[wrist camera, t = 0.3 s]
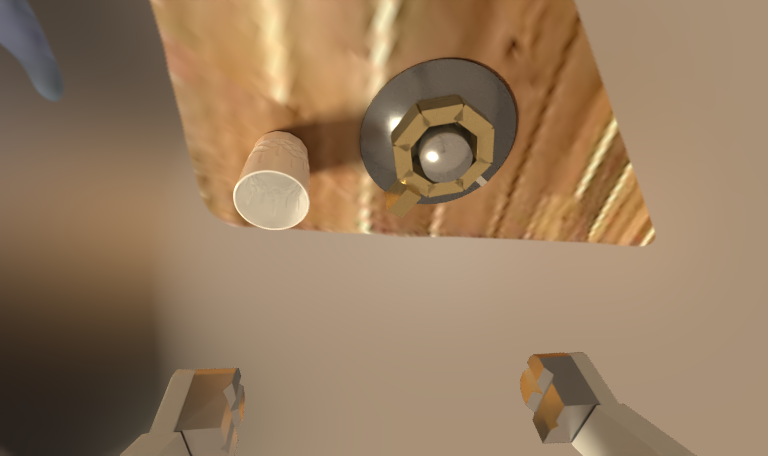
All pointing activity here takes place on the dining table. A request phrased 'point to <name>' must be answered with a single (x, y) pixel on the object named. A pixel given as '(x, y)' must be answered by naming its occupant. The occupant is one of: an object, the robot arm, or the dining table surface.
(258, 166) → the white cup
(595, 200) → the dining table surface
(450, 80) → the hub plate
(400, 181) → the ring nut
